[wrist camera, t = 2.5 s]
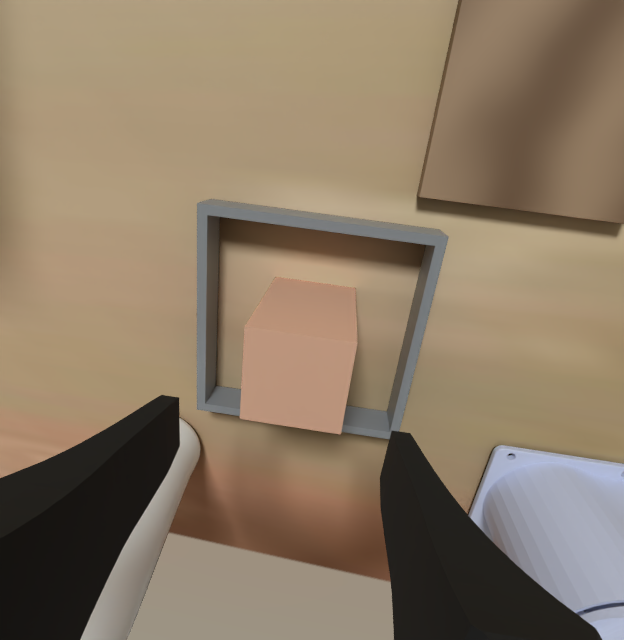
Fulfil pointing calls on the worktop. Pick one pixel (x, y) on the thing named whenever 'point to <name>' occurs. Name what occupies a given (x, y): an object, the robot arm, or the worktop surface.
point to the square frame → (212, 210)
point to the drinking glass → (143, 548)
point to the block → (300, 355)
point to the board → (532, 109)
